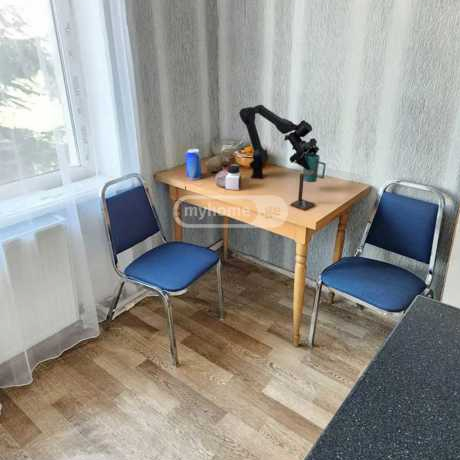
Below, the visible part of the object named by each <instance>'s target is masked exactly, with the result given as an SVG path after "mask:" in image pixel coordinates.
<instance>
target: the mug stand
mask: <svg viewBox="0 0 460 460" xmlns="http://www.w3.org/2000/svg"><path fill="white" fill-rule="evenodd" d="M314 173H315V171H314V170H312V171H311V172H309V173H306V174H303V173H300V174H299V183H298V196H297V200H295V201H293V202H291V203H290V207H293V208H296V209H299V210H301V211H304V212H305V211H306V210H308V209H310V208H313V207H314V206H315V204H316V203H315V202H312V201H309V200H305V199H303V193H304V192H303V190H304V181H303V180H304V177H306V176H308V175H311V174H314Z"/></svg>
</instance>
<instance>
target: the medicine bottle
mask: <svg viewBox="0 0 460 460" xmlns="http://www.w3.org/2000/svg"><path fill="white" fill-rule="evenodd" d="M227 167H228V175H227V176H226V188H225V190H232V191H240V189H241V186H242V173H241V172H240V166H239V165H237V164H229V165H227Z"/></svg>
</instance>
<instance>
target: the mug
mask: <svg viewBox="0 0 460 460" xmlns="http://www.w3.org/2000/svg"><path fill="white" fill-rule="evenodd" d="M305 154H306V153H305ZM320 158H321V156H320V154H318V153H317V154H306V155H305V160H306V162H307V164H308V166H309V168H310V170H307V169H305V168H304V167H303V170H302V174H306V173H309V172H311V171H312V170H314V171H315V173H314V174H311V175H308V176H306V177H304V180H303V182H306V183H316V182H317V180H318V178H319V179H322V180H323V179H325V171H326V165H327V163H326V162H322V161H320V160H321V159H320ZM320 165H323V166H322V174H321V175H318V174H319V167H320Z"/></svg>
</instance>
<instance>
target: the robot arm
mask: <svg viewBox="0 0 460 460" xmlns="http://www.w3.org/2000/svg"><path fill="white" fill-rule="evenodd" d="M257 114H258V115H260V116H261V117H263V119H265V120H267V121H268V122H269V123H271V124H273V125H274V126H275V128H276V129H277V130H278V131H279V133H281V134H282V135H284V138H283V140H284V141H289V143H290V144H291V146H292V147H291V149H292V151H295V152H294V153H293V154H292V155H291V156H290V157H289V162H290V163H291V164H293V163H294V164H296V165H298V166H300V167H302V168H303V169H304V168H305V169H307V170H310V168H309V166H308V164H307V162H306V160H305V155H306V154H317V155H318V152H319V150H320V148H319V146H317V144H318V141H317V139H316V138H315V137H313V138H310V139H309V141H306V140H304V139H302V138H305V137H306V136H307V135H308V134H310V133H311V132H312V131H313V126H312V124H310V123H309V122H308V121H306V120H305V119H302V120H301V121H300V122H299V123H298V124H296V123H294V122H293V121H291V120H289V119H286V118H283V117H280V116H278V115H277V114H276V113H275V112H273V111H271V110H270V109H269V108H267V107H266V106H265V105H263V104H258V105H255V106H253V107H252V106H247V107H243V108H241V109H240V111H239V113H238V115H239V118H240V120H241V121H242V123H243V124H244V125H245V126H246V130H247V133H248V137H249V140H250V143H251V146H252V150H253V152H252V161H250V163H249V167H250V168H252V174H251V177H250V178H251V179H261V180H262V179H264V172H263V170H264V166H266V164H267V163H268V161H269V157H270V155H269V154H268V150H267V149H264V148H263V146H262V143H261V139H260V137H259V133H258V129H257V126H256V115H257Z"/></svg>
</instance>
